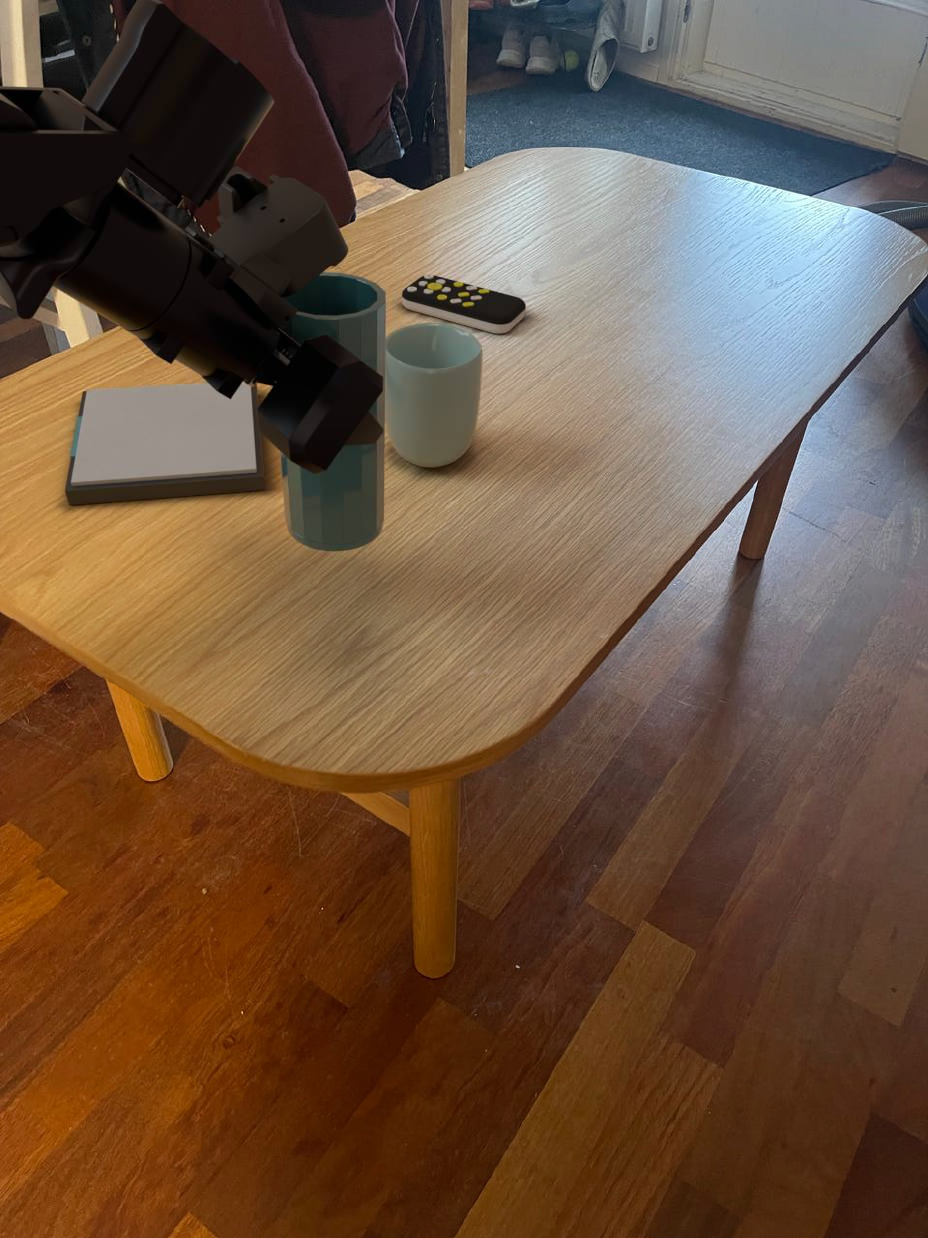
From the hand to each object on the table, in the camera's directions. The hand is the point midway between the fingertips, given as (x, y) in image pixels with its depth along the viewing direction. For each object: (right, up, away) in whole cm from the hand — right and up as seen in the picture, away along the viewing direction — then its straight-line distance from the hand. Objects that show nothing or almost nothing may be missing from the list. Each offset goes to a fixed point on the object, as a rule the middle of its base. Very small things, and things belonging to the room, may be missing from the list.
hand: (348, 410), depth 60 cm
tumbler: (-1, -7, +5) cm, 8 cm away
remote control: (+7, +19, +41) cm, 46 cm away
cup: (+4, +1, +21) cm, 21 cm away
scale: (-17, +1, +20) cm, 27 cm away
